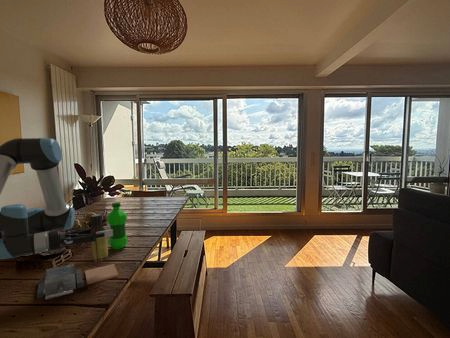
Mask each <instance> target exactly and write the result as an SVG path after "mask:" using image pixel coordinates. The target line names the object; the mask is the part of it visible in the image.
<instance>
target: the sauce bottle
mask: <svg viewBox="0 0 450 338" xmlns="http://www.w3.org/2000/svg"><path fill="white" fill-rule="evenodd" d="M90 218H91V222H92V224H91V225H92V226H91V227H92V229H91V231H90V234H91V233H96V232H100V231H105V229H104V225H103V220H102V218H103V215H102V214H100V213H96V214H92V215H91V216H90ZM107 238H108V237H105V238H99V239H96V241H95V242H94V241H92V242H90V246H91V247H90V248H91V257H92V260H93V262H94V263H103V262H105V261H107V260H108V259H109V249H108V247H109V246H108V239H107Z"/></svg>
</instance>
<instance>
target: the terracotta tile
mask: <svg viewBox="0 0 450 338" xmlns="http://www.w3.org/2000/svg"><path fill="white" fill-rule="evenodd" d="M115 265H116V264H114V263H111V264H107V265H103V266H99V267H95V268H90V269H87V270H84V274H85V280H86V284H87V285H91V284H94V283H95V284H96V283H98V282H102V281H105V280H106V281H107V280H110V279H111V280H112V279H115V278H117V277H119V273H118V271H117V268H116V266H115Z"/></svg>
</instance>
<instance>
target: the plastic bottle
mask: <svg viewBox="0 0 450 338" xmlns="http://www.w3.org/2000/svg"><path fill="white" fill-rule="evenodd" d="M111 207H112V210H111V211H110V212H109V213H108V215H107V216H106V222H107V224H108V226H110V230H112V229H113V236H110V237H109V239H108V244H109V246H110V247H111V248H112V249H114V250H121V249H123V248H124V247H125V246H126V245H127V243H128V242H129V241H128V240H129V239H128V236H127V234H126V222H127V221H128V214H127V213H126V212H125V211H123V210H122V209H120V207H122V206H121V202H119V201H118V202H117V201H116V202H112V204H111Z"/></svg>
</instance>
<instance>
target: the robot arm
mask: <svg viewBox="0 0 450 338" xmlns="http://www.w3.org/2000/svg"><path fill="white" fill-rule="evenodd" d="M62 155H63V154H62V149H61V146H60V144H59V142H58V141H57V140H56V139H54V138H47V137H42V138H41V137H40V138H22V137H21V138H20V137H19V138H17V137H16V138H13V139H10V140H7V141H5V142H3V143H1V144H0V195H1V194H2V192H3V190H4V187H5V185H6V184H7V181H8V179H9V176H10V174H11V172H12V171H13V170H15V169H16V168H17V166H18V165H19V164H29V165H30V169H32V170H33V171H35V172H36V174H37V175H36V176H37V178H38V181H39V185H40V189H41V192H42V196H43V200H44V202H45V205H46V207H45V208H44V207H42V206H38V207H34V208H29V209H28V208H27V206H26V205H25V204H23V203H16V204H8V205H4V206H2V207H1V208H0V233H2V238H0V260H4V259H5V260H6V259H15V258H21V257H20V256H25V255H30V254H35V253H39V254H38V255H41V254H43V253H42V252H44V253H45V252H48V251H51V252H52V251H57V250H60V249H61V248H62V247H61V246H62V245H66V246H67V247H69V246H73V245H74V246H75V245H79V244H86V243H91V242H92V241H94V242H95V241H96V239H99V238H105V237H107V238H110V236H113V229H112V230H110V225H106V226H104V225H103V227H104V229H105V231H100V232H96V233H91V234H90V231H91V229H92V226H91V227H85V228H80V229H79V228H78V229H75V230H72V228H73V227H74V224H75V219H76V218H75V217H76V209H75V208H74V207H71V206H70V203H68V202H66V200H65V196H64V193H63V192H64V191H63V187H62V183H61V180H60V175H59V171H58V166H59V165H60V163H61V161H62V160H63V159H62V157H63V156H62ZM70 229H71V230H70ZM61 231H65V233H61ZM48 249H49V250H48Z"/></svg>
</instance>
